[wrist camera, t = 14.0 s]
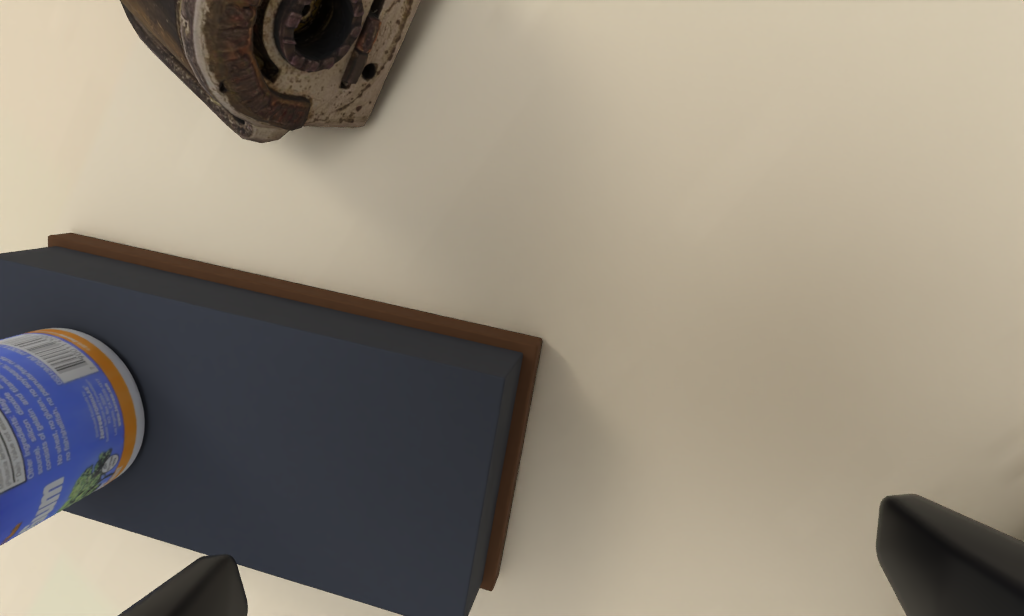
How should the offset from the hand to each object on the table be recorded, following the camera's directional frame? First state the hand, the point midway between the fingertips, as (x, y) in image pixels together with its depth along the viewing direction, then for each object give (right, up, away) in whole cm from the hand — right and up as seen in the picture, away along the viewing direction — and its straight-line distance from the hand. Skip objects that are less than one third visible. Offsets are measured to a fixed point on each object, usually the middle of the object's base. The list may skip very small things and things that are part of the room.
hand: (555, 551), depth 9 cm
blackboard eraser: (-9, 0, +15) cm, 17 cm away
